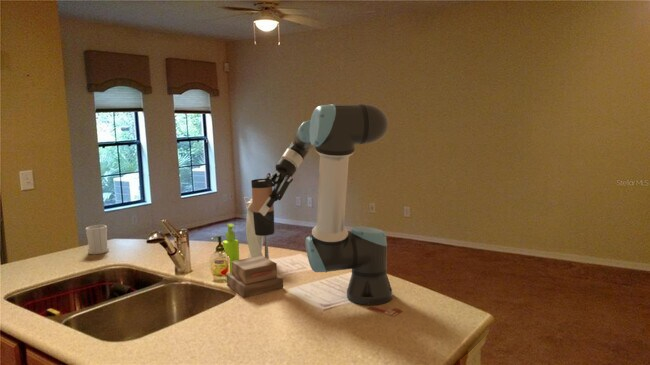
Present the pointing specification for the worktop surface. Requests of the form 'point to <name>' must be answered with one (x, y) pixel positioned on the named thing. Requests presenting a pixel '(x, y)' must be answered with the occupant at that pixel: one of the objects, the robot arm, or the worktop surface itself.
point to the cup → (97, 239)
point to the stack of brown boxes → (254, 276)
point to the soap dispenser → (231, 245)
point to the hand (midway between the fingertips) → (255, 212)
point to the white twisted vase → (254, 236)
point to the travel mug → (259, 197)
